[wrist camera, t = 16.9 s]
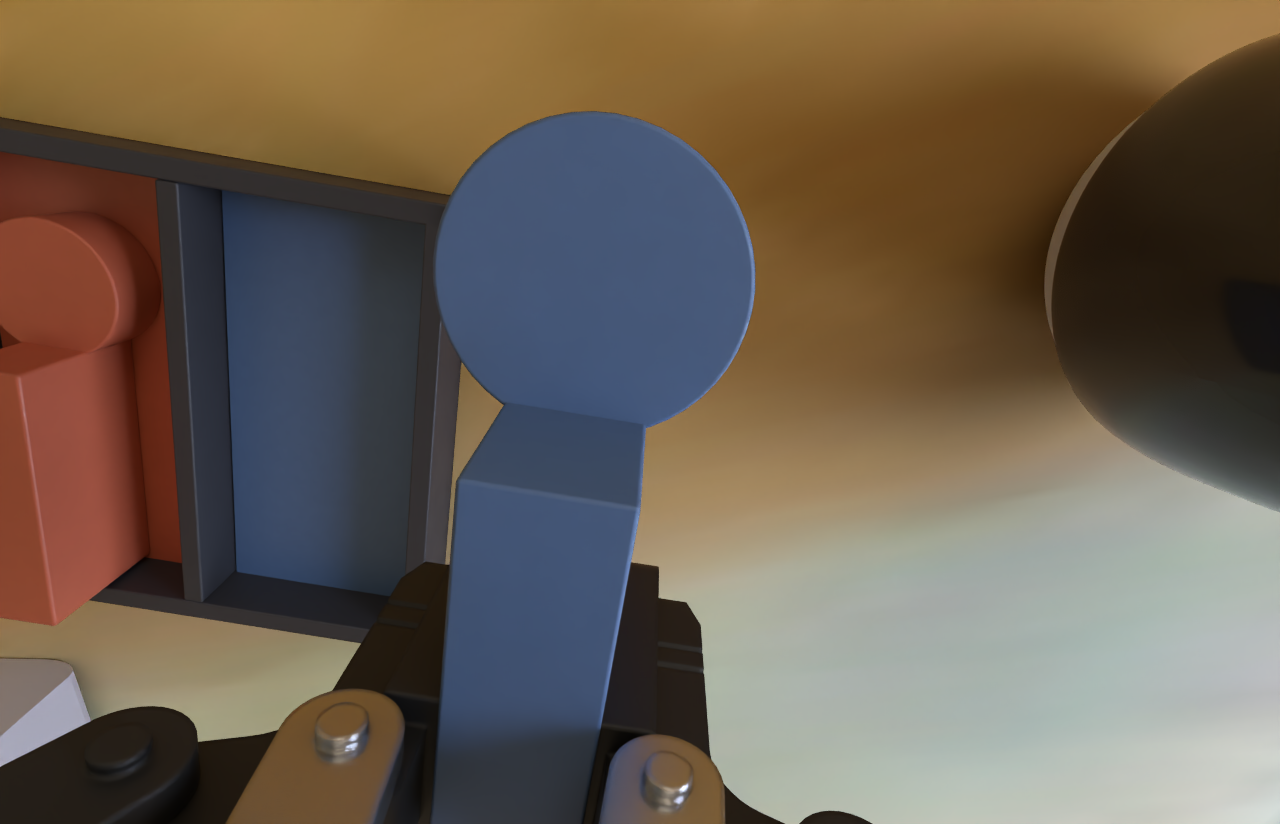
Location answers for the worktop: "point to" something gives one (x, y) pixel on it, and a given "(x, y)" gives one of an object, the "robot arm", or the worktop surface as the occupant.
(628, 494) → the slate-blue spoon
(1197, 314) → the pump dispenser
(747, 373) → the worktop surface
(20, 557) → the terracotta spoon
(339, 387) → the cutlery tray
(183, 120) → the worktop surface
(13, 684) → the charger
